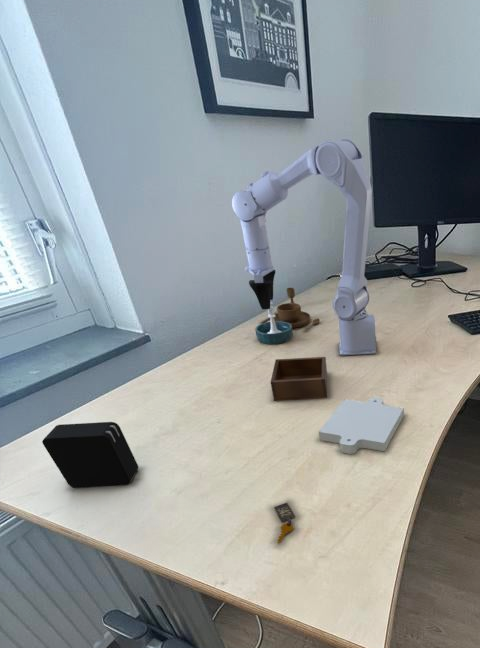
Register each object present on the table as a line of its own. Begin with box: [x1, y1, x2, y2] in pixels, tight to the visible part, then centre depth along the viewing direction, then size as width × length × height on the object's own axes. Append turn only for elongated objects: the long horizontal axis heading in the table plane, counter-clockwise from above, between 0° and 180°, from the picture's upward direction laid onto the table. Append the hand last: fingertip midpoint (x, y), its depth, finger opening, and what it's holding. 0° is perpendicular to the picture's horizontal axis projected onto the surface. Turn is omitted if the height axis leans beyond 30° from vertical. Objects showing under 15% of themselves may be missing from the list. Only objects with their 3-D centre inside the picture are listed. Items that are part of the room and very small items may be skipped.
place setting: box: [260, 287, 320, 331], centre depth 133 cm, size 18×20×6 cm
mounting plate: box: [318, 396, 405, 455], centre depth 85 cm, size 18×13×2 cm
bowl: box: [254, 321, 294, 345], centre depth 122 cm, size 10×10×3 cm
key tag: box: [273, 502, 296, 544], centre depth 65 cm, size 8×3×1 cm, turn 15°
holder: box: [270, 356, 328, 402], centre depth 98 cm, size 12×12×4 cm
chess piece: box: [266, 301, 282, 334], centre depth 119 cm, size 5×5×10 cm
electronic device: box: [41, 421, 139, 489], centre depth 71 cm, size 4×10×10 cm, turn 95°
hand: (267, 304), depth 116 cm, fingers open, 7 cm apart
